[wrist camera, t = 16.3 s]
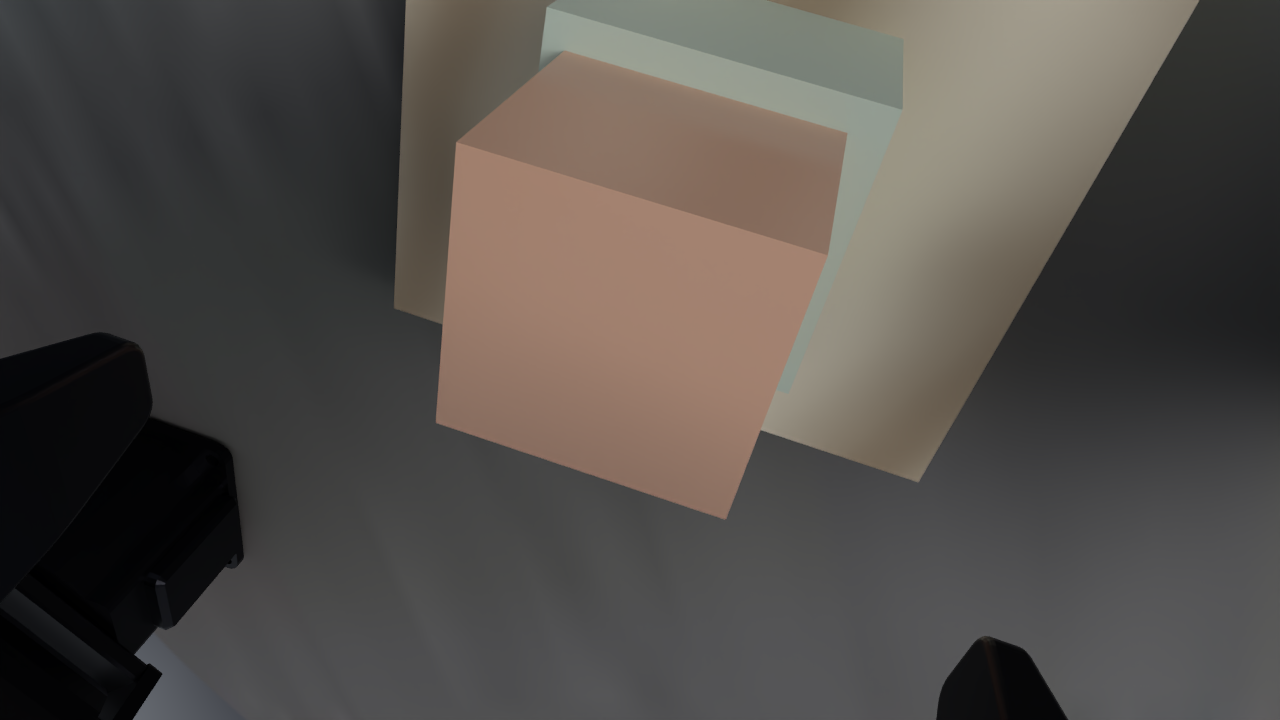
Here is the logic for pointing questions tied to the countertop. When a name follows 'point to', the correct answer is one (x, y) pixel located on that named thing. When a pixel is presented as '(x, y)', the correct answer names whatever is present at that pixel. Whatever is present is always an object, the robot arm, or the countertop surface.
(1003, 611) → the countertop surface
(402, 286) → the birch plinth
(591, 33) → the sage block
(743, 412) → the terracotta cube
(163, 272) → the countertop surface
